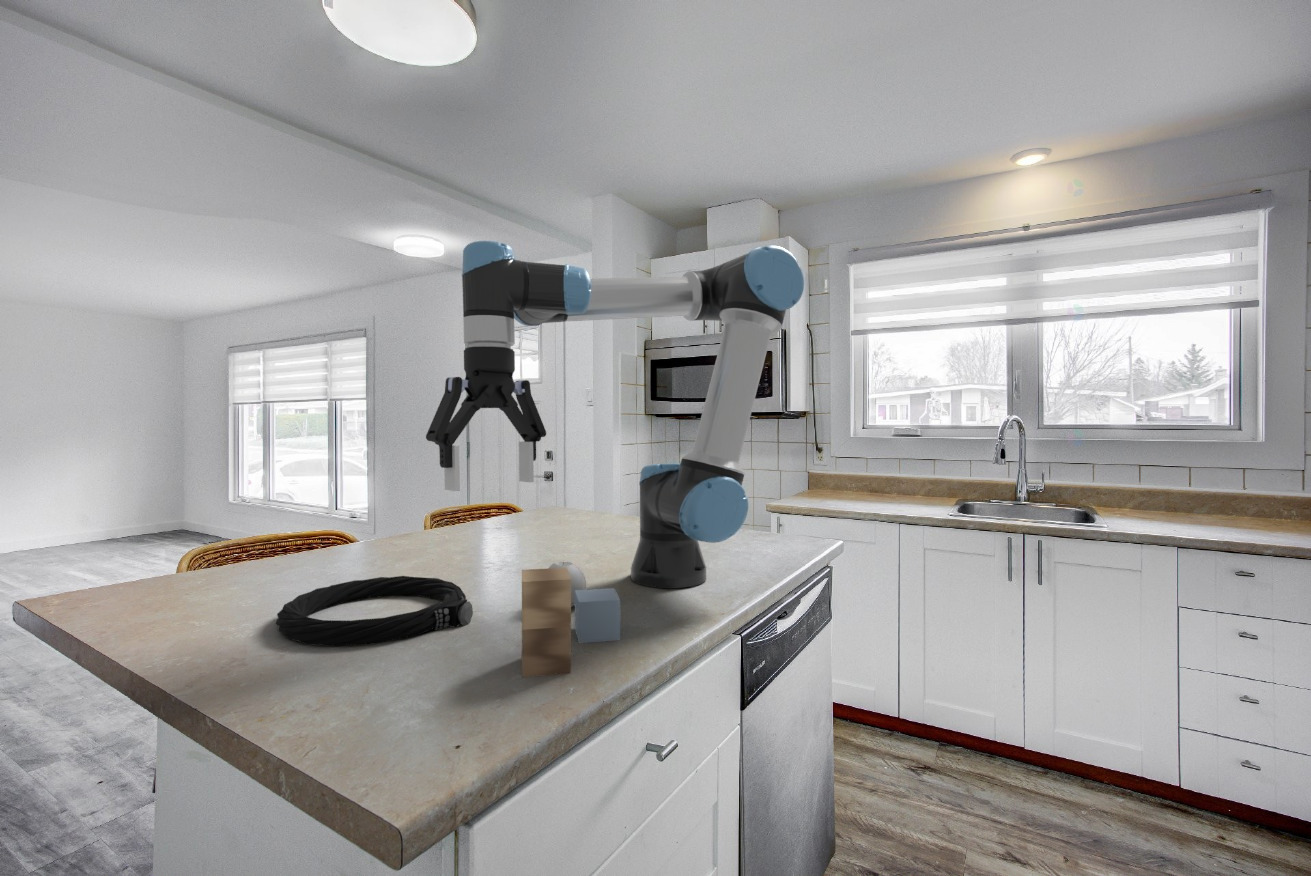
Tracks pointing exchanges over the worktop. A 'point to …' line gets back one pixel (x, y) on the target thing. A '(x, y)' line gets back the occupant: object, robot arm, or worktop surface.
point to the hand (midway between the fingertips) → (491, 485)
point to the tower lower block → (546, 651)
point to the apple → (573, 577)
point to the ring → (378, 629)
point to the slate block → (597, 615)
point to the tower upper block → (546, 598)
